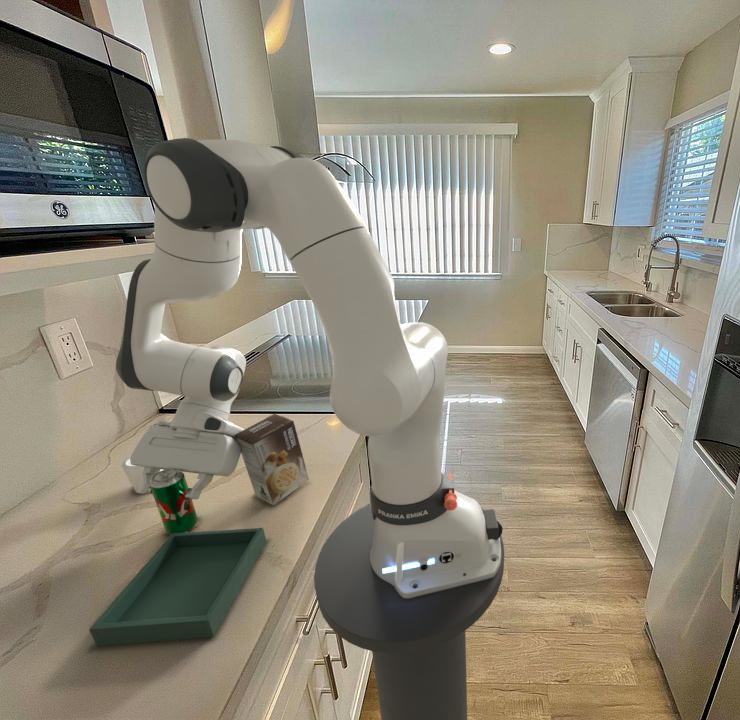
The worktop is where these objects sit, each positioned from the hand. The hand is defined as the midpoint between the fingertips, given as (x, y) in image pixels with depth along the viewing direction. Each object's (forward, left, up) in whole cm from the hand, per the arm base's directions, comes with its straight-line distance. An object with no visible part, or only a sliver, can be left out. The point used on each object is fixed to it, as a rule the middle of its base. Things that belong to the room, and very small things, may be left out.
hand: (168, 496), depth 73 cm
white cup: (+14, -14, -8) cm, 21 cm away
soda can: (-1, 0, -8) cm, 8 cm away
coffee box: (-16, -10, -7) cm, 20 cm away
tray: (-11, +14, -7) cm, 19 cm away
